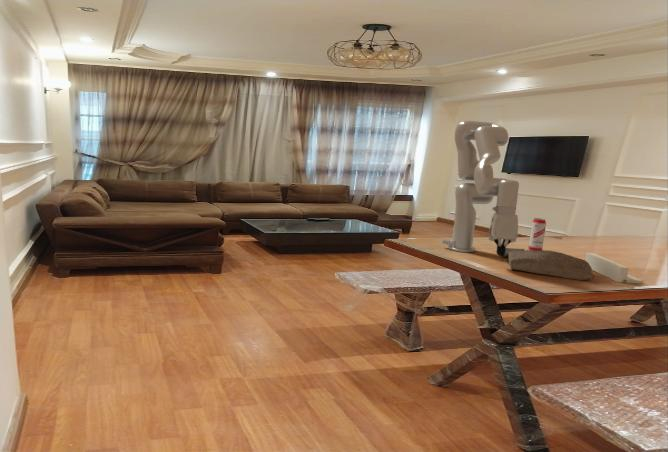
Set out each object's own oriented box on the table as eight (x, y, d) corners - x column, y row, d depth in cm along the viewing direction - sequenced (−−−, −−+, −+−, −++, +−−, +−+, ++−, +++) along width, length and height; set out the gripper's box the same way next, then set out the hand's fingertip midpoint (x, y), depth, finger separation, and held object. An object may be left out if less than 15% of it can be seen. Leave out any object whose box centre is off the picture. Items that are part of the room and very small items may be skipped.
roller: (504, 250, 201) (500, 245, 204) (501, 259, 203) (498, 254, 207) (526, 252, 201) (522, 247, 205) (523, 260, 203) (520, 255, 207)
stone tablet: (509, 272, 179) (593, 283, 170) (511, 252, 178) (596, 262, 169) (506, 261, 198) (582, 271, 189) (509, 243, 197) (585, 252, 188)
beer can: (544, 252, 219) (549, 220, 216) (531, 251, 219) (536, 219, 216) (538, 249, 225) (543, 218, 223) (526, 248, 225) (530, 217, 223)
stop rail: (618, 282, 173) (621, 267, 172) (584, 265, 197) (586, 252, 196) (642, 283, 173) (645, 268, 172) (605, 267, 197) (607, 253, 196)
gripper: (490, 210, 176) (485, 256, 179) (528, 213, 177) (522, 258, 179) (484, 208, 184) (479, 252, 187) (520, 210, 184) (514, 254, 187)
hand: (500, 255), depth 183 cm, fingers closed
